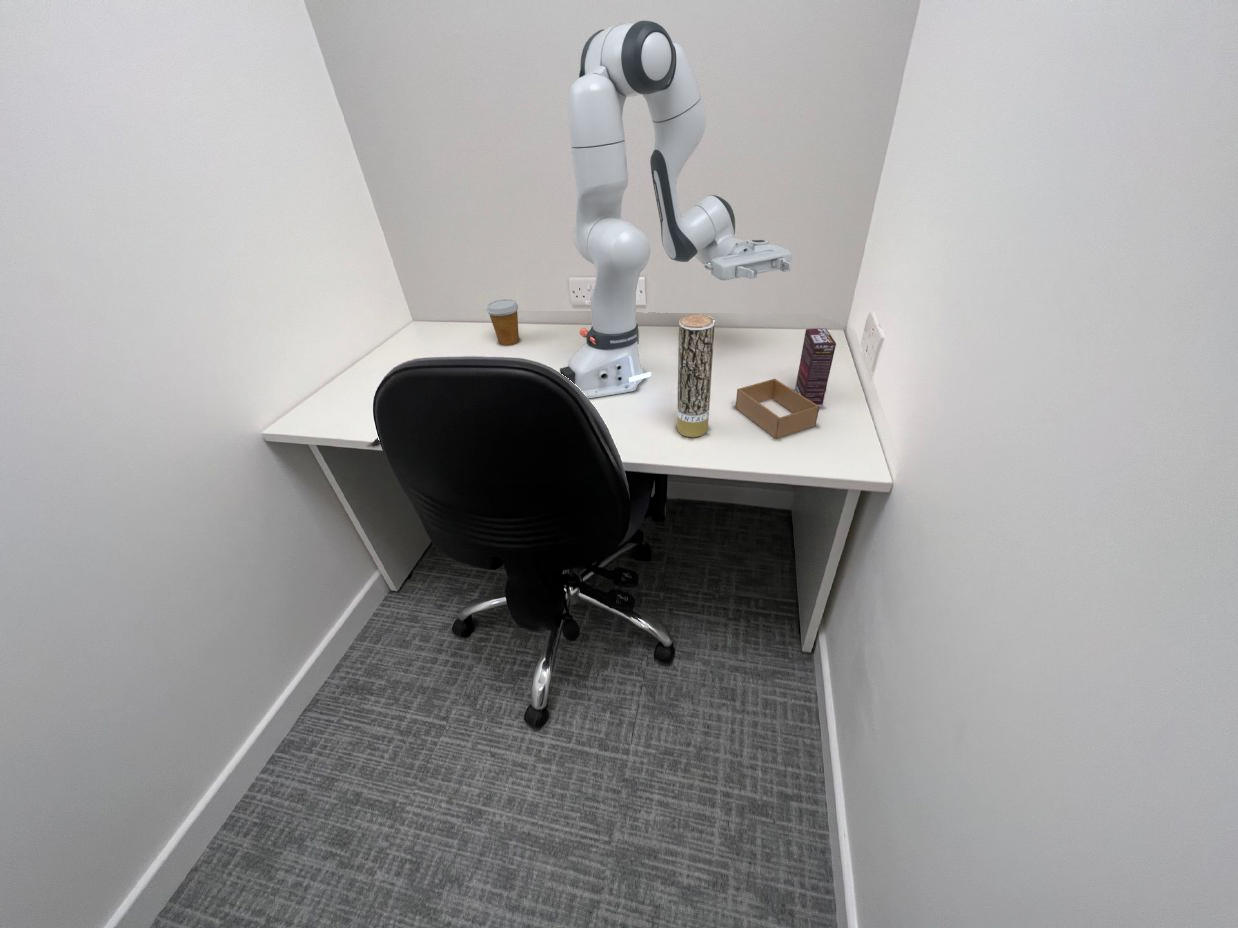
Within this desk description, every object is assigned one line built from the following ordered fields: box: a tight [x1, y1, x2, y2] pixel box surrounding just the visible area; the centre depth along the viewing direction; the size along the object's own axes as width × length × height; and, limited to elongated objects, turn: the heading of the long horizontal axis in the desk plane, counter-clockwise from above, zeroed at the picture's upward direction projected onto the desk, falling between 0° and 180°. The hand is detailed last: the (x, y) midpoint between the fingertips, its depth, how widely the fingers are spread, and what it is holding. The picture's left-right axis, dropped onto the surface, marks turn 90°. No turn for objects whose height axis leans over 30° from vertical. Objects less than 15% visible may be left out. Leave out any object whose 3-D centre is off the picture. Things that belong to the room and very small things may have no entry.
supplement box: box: [794, 328, 837, 409], centre depth 113 cm, size 9×5×16 cm, turn 176°
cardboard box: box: [735, 378, 820, 440], centre depth 111 cm, size 10×15×5 cm
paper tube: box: [676, 314, 716, 438], centre depth 102 cm, size 7×7×25 cm
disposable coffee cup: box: [486, 298, 520, 346], centre depth 153 cm, size 10×10×12 cm
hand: (771, 271), depth 114 cm, fingers open, 8 cm apart
